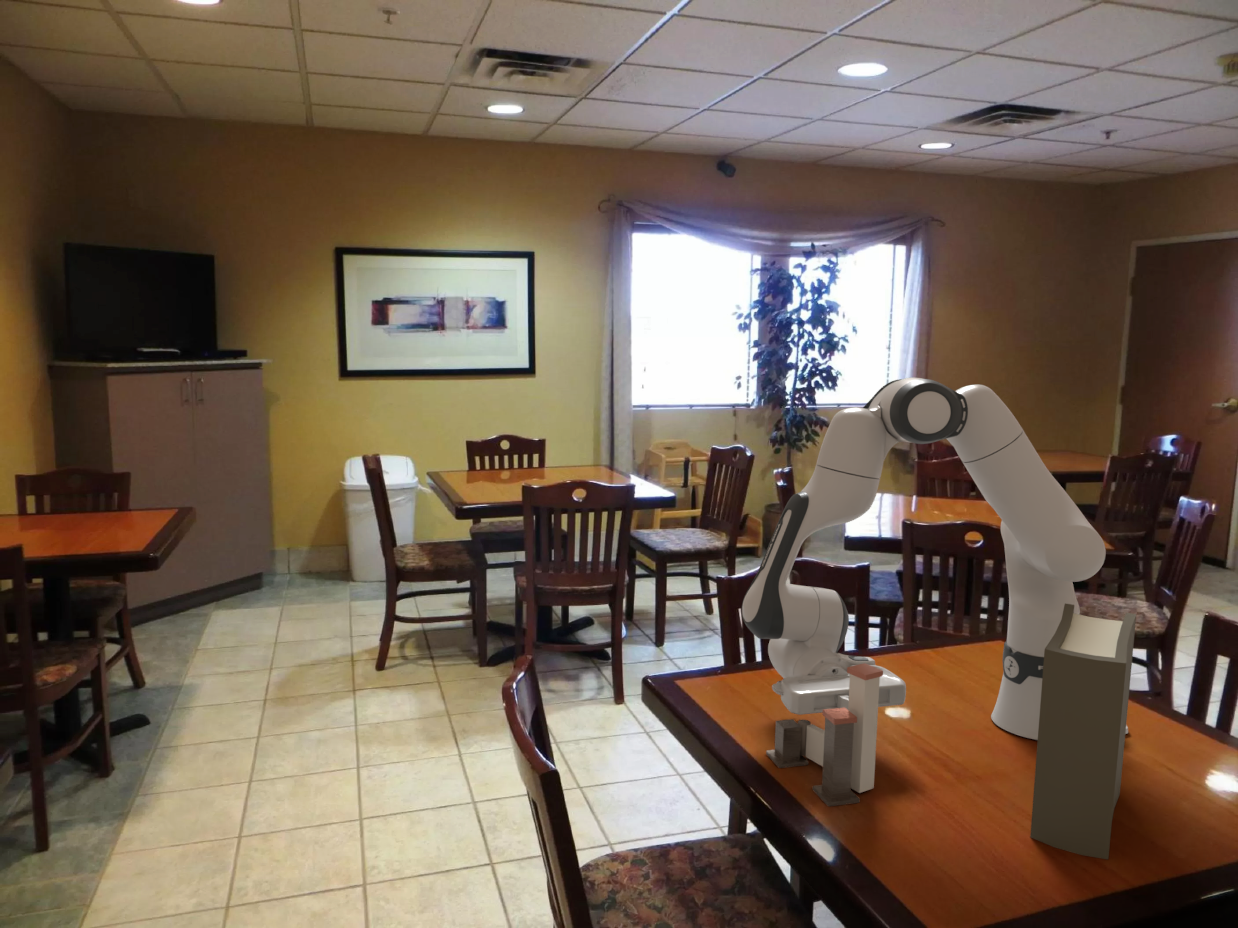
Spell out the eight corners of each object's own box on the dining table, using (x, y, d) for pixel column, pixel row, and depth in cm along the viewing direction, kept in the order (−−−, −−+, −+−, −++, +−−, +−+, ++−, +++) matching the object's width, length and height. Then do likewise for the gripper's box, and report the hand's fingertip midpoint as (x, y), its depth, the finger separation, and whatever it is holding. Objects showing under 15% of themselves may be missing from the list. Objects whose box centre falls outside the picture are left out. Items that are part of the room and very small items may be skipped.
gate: (876, 788, 132) (883, 670, 130) (859, 794, 130) (865, 675, 128) (806, 749, 144) (811, 641, 142) (790, 754, 143) (794, 645, 140)
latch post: (842, 785, 133) (846, 705, 132) (859, 802, 129) (864, 718, 127) (812, 789, 132) (816, 707, 131) (828, 806, 127) (832, 721, 126)
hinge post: (794, 750, 145) (795, 715, 144) (808, 764, 140) (809, 728, 139) (766, 753, 144) (767, 718, 143) (779, 767, 139) (780, 731, 138)
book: (1107, 866, 115) (1126, 660, 110) (1029, 843, 120) (1044, 646, 115) (1119, 793, 132) (1136, 614, 128) (1051, 776, 137) (1064, 603, 133)
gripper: (768, 665, 146) (806, 697, 132) (879, 656, 151) (926, 686, 137) (766, 702, 146) (804, 737, 133) (877, 691, 152) (924, 724, 138)
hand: (867, 711), depth 135 cm, fingers closed
